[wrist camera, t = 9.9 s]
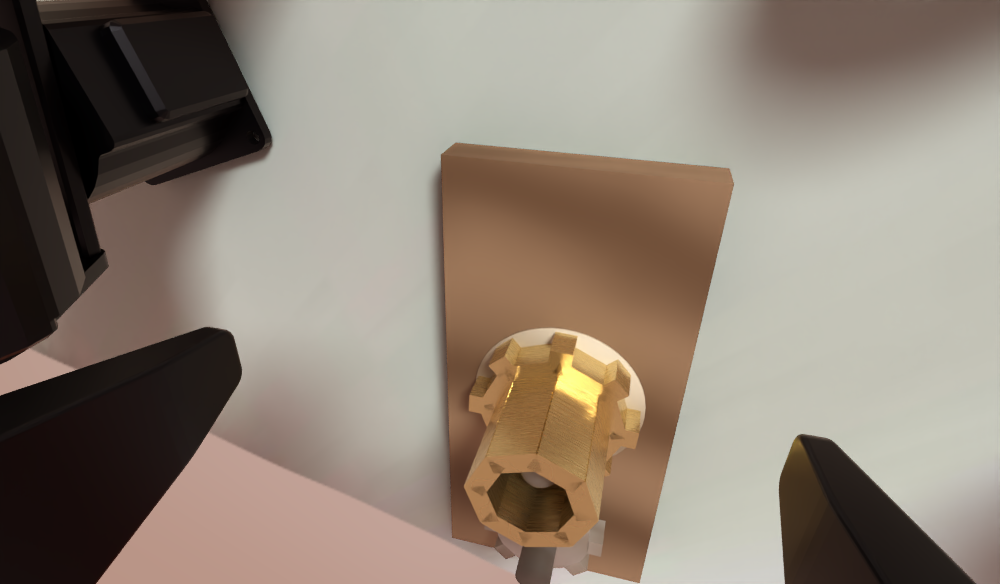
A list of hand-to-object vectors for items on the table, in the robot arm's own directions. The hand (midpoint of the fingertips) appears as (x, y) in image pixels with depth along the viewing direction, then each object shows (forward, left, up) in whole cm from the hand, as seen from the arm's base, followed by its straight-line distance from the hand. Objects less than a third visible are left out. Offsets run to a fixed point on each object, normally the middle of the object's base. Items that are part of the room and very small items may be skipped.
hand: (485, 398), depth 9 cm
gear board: (-3, -8, -12) cm, 15 cm away
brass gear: (-3, -8, -10) cm, 14 cm away
